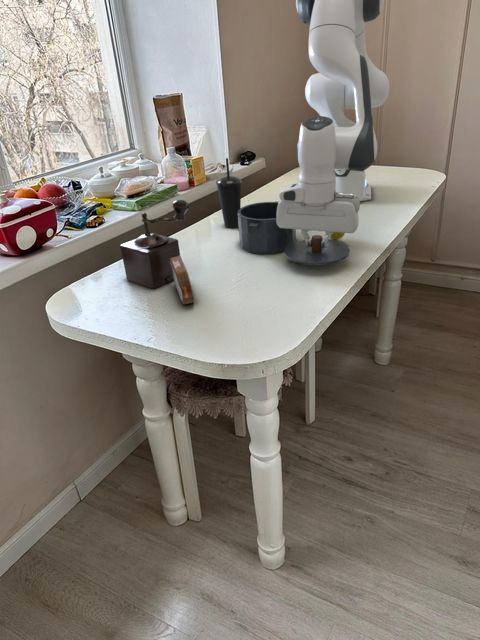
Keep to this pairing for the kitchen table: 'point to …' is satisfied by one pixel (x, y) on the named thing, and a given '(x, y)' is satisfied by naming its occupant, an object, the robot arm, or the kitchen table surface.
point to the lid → (317, 251)
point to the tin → (182, 280)
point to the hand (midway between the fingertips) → (316, 246)
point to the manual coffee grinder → (152, 252)
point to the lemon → (337, 235)
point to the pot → (263, 229)
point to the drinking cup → (230, 198)
